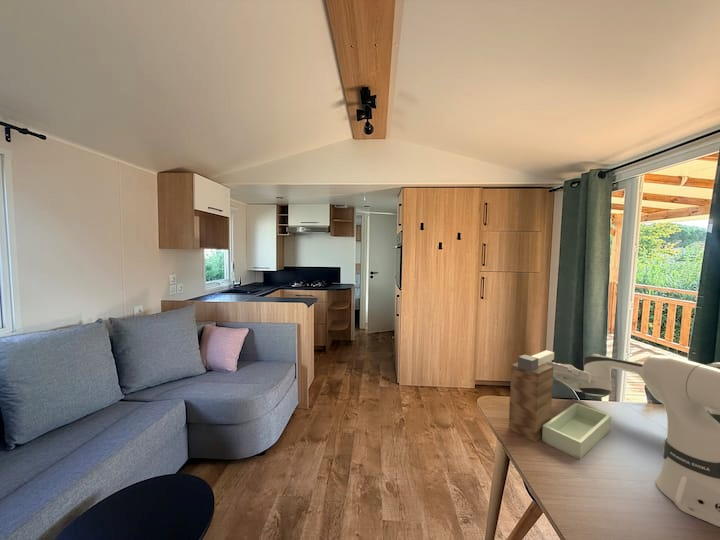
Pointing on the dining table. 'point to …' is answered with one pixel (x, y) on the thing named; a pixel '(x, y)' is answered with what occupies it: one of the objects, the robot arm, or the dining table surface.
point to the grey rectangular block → (534, 360)
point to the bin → (576, 430)
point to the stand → (530, 400)
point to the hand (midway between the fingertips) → (557, 365)
